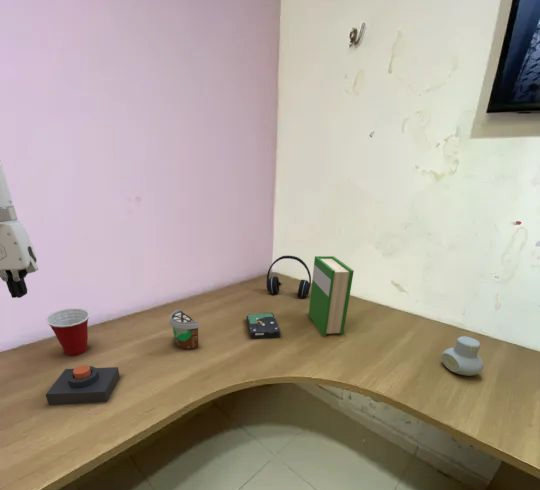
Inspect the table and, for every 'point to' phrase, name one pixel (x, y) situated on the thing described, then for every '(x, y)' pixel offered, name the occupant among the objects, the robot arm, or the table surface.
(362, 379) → the table surface
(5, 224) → the robot arm
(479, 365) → the air freshener
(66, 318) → the plastic cup
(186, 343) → the food container
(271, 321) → the disk drive
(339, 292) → the hardback book
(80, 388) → the button base
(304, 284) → the headphones
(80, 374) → the push button
